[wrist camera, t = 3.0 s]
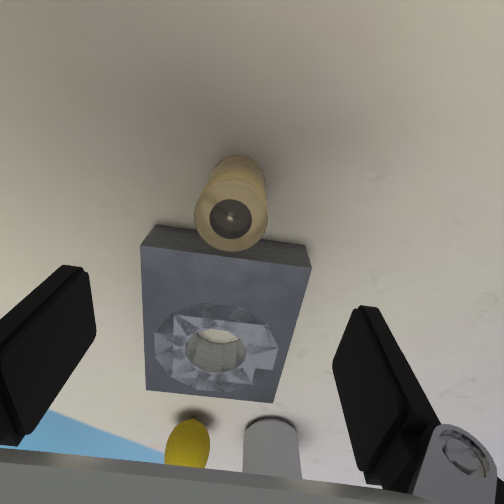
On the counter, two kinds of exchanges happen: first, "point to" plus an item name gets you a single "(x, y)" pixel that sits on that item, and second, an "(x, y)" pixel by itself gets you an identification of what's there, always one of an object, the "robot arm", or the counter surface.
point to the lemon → (188, 445)
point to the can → (271, 449)
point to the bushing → (233, 205)
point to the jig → (218, 313)
